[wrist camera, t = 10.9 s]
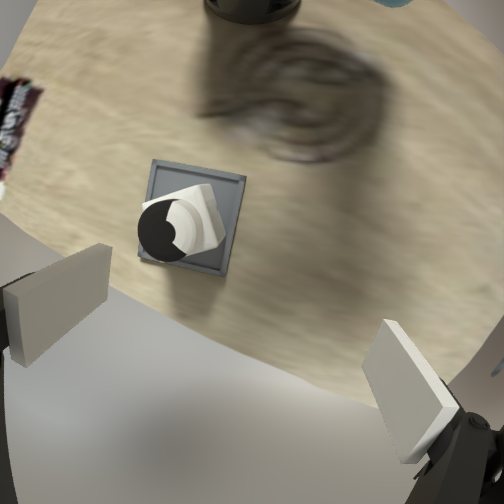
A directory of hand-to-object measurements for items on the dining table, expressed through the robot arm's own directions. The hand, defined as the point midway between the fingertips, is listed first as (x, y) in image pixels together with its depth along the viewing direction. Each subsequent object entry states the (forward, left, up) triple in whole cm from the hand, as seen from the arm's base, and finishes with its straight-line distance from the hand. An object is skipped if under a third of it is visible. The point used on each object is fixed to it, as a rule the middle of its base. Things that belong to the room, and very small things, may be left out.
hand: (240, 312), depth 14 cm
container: (+2, -9, -31) cm, 32 cm away
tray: (+2, -10, -31) cm, 33 cm away
